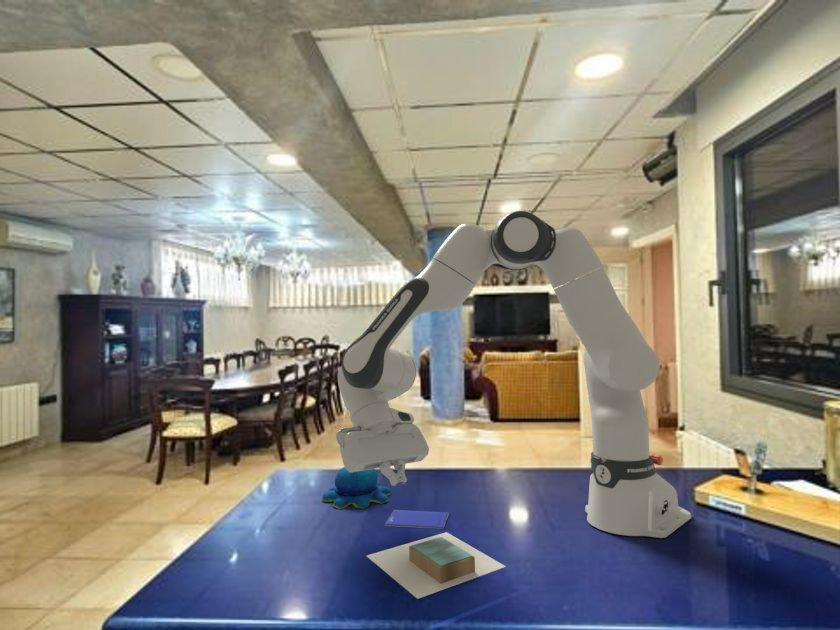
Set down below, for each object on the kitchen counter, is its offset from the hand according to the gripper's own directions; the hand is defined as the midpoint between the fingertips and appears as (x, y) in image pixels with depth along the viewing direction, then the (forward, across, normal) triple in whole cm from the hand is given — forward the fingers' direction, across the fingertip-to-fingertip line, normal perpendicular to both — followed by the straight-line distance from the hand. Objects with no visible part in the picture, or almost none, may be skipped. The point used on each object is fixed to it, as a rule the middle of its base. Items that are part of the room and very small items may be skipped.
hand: (399, 483), depth 104 cm
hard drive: (+6, +8, +10) cm, 14 cm away
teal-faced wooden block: (+14, -2, -2) cm, 14 cm away
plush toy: (-9, +8, +27) cm, 30 cm away
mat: (+17, -2, -3) cm, 17 cm away
